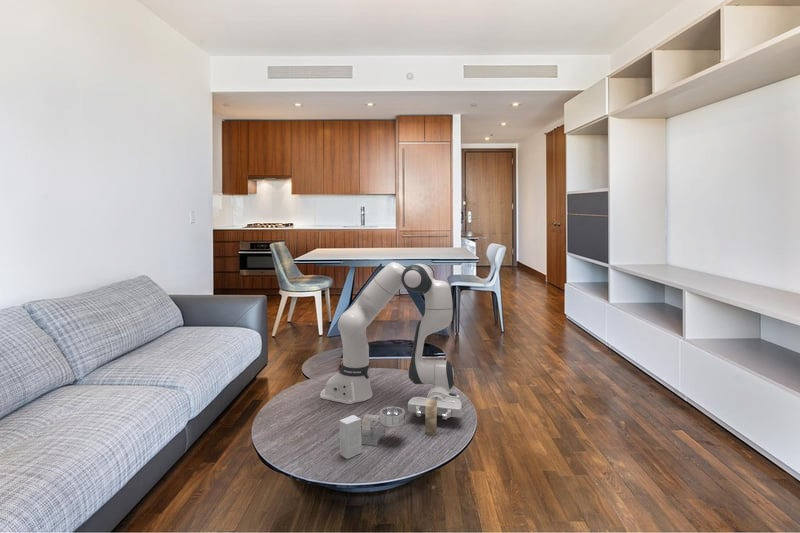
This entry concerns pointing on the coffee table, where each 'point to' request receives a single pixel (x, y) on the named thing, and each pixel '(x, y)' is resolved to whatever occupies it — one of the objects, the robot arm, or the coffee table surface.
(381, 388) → the coffee table surface
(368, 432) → the cup bracket
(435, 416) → the rail post
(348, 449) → the skincare box
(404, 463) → the coffee table surface
